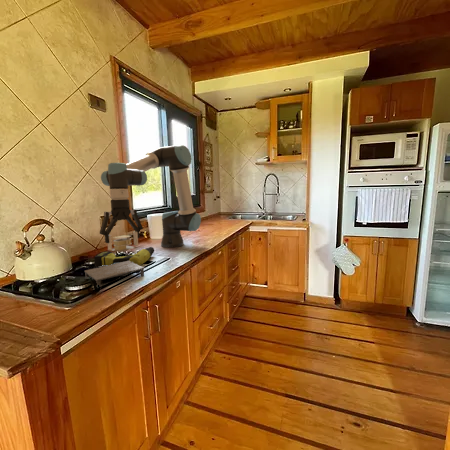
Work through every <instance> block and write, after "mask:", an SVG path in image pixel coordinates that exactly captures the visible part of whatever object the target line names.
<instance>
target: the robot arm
mask: <svg viewBox="0 0 450 450" xmlns="http://www.w3.org/2000/svg"><path fill="white" fill-rule="evenodd" d="M192 160H193V159H192V154H191V151H190V149H189V148H188V147H187V146H185V145H181V144H180V145H178V144H177V145H170V146H162V147H158V148H156V149H154V150H151V151H149V152H147V153H146V154H145V155H144V156H143V157H139V158H137V159H135V160H133V161H131V162H128V163H125V162H110V163H108V166H107V170H105V171H102V172H101V175H100V181H101V183H102V184H103V185H104V186H107V187H109V196H110V208H111V210H110V211H103V219H102V222H101V226H100V230H99V234H100V235H103V236H104V243H106V244H107V251H109V252H112V251H111V250H112V249H113V244H112V242H113V241H112V235H110V234H111V232H112V231H113V228H114V227H115V225H116V223H117V222H118V221H122V220H123V221H127V223H128V224H129V226H131V228H132V229H133V230H134V231H133V233H132V234H133V235H132V236H133V245H134V246H135V247H137V246H138V247H139V238H140V232H141V231H142V230H143V229H144V228H143V225H142V222H141V221H140V218H139V216H138V211H137V209H131V208H130V207H131V206H130V200H129V198H130V195H129V194H130V193H129V186H130V187H131V186H133V187H134V186H137V187H138V186H145V184H146V183H147V182H148V175H147V171H149V170H153V169H154V170H155V169H157V168H163V167H165V168H166V167H169V171H170V172H172V174H173V181H174V185H175V190H176V195H177V201H178V207H179V210H174V211H167V212H163V213H162V214H161V221H162V222H161V223H162V224H161V225H162V237H161V242H160V246H161V248H170V249H171V248H179V247H182V246H183V245H184V240H183V236H182V234H181V231H182V232H196V231H198V230H199V228H200V226H201V222H202V217H201V214H200V213H197V210H196V208H194V205H193V200H192V199H193V198H192V193H191V192H192V191H191V186H190V181H189V180H190V179H189V175H188V170H189V169H190V165H191V163H192ZM130 214H131V215H132V217H133V220H134V221H135V222H134V221H133V220H132V218H131V216H130ZM111 216H112V218H111V221H110V222H109V219H110V217H111Z"/></svg>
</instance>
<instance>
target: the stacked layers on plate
mask: <svg viewBox="0 0 450 450" xmlns="http://www.w3.org/2000/svg"><path fill="white" fill-rule="evenodd" d="M130 237H131V238H130ZM112 239H113V240H112V242H113V244H112V250H111V251H110V252H118V253H123V252H126V251H129V250H130V251H131V250H134V249H138V248H139V246H138V247H137V246H135V245H134V246H132V244H133V243H132V235H125V234H124V235H118V236H117V235H116V236H113V237H112ZM113 246H114V247H113Z"/></svg>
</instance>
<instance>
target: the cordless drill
mask: <svg viewBox="0 0 450 450" xmlns="http://www.w3.org/2000/svg"><path fill="white" fill-rule="evenodd" d="M154 252H155V248H154V247H152V246H149V247H146V248H142V249H141V250H139V251H137V252H136V253H134V254H129V255H125V256H124V255H123V256H116V254H114V252H113V251H103V252H100V253H99V254H96V255H95V256H93V257H94V258H93V262H94V267H95V266H97V267H98V266H102V265H111V264H113V263H114V264H116V263H121V262H125V261H131V262H133V263H135V264H137V265H139V266H142V265H143V264H145V263H146V262H147V261H149V260H150V258H151V257H152V256H153V254H154Z"/></svg>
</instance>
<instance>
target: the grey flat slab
mask: <svg viewBox="0 0 450 450" xmlns="http://www.w3.org/2000/svg"><path fill="white" fill-rule="evenodd" d="M134 272H139V276H140V277H145V267H144V266H142V265H140V266H139V265H137V264H135V263H133V262H131V261H125V262H119V263H114V264H112V265H108V266H103V267H99V268H96V267H94V268H89V269H86V270H84V272H83V273H85V278H86V277H90V278H92V279H93V280H95V283H97V285H99V286H100V287H101V288H102V284H101V283H102V282H101V281H103V280H106V279H107V280H108V279H111V278H114V277H119V276H123V275H126V274H131V273H134ZM97 285H96V286H97Z"/></svg>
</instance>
